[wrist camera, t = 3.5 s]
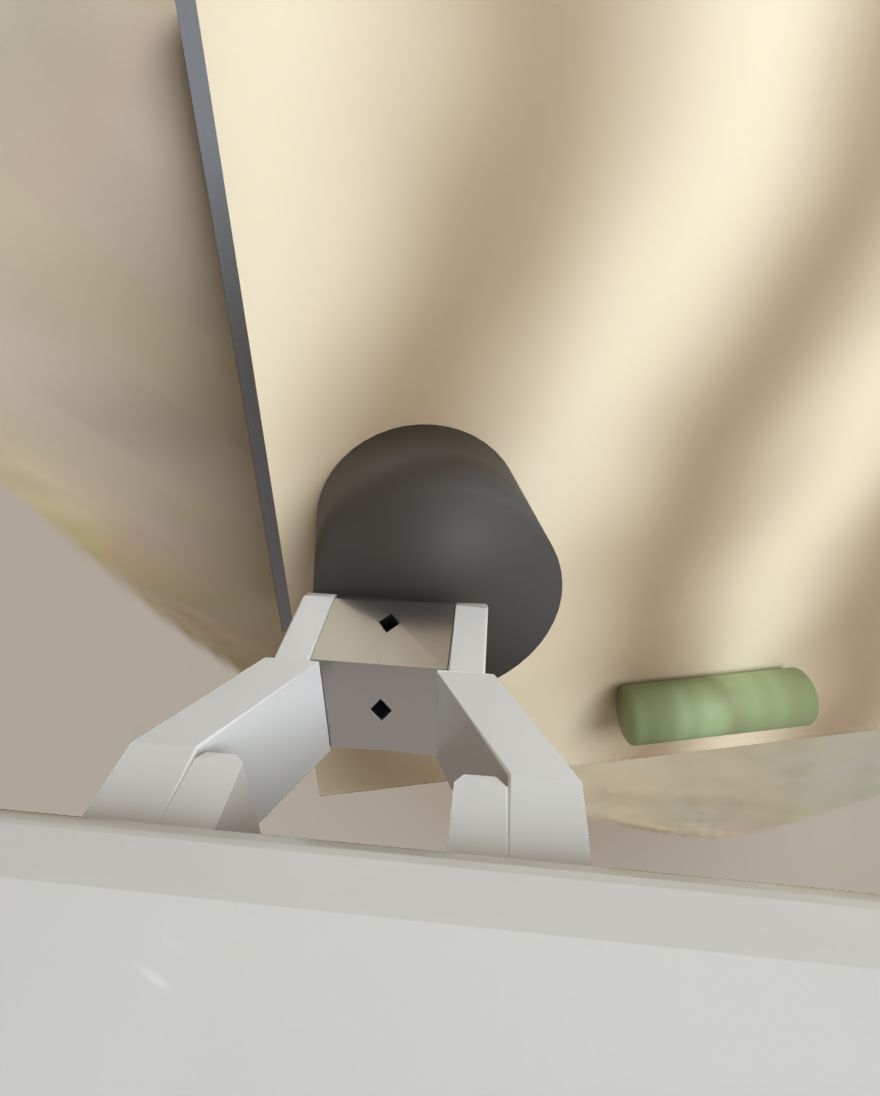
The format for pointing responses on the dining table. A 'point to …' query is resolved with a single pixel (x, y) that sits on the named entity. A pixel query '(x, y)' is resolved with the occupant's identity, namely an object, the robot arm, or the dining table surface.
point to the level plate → (574, 345)
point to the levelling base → (231, 285)
